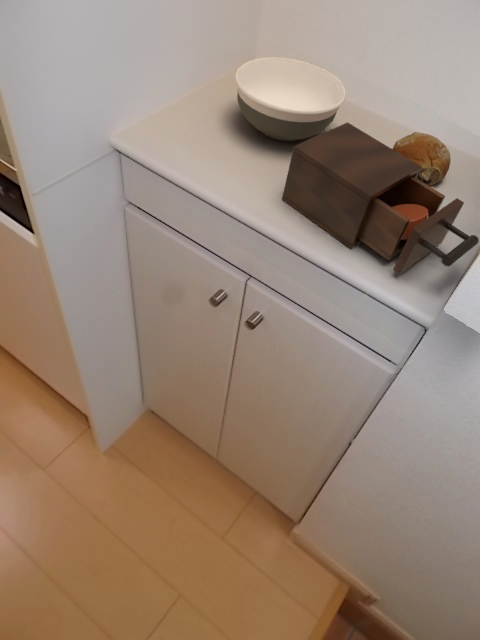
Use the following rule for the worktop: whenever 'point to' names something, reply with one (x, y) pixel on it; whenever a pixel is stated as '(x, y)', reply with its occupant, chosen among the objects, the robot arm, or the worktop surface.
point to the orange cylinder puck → (412, 216)
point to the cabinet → (342, 179)
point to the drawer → (389, 227)
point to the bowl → (288, 97)
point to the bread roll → (425, 156)
